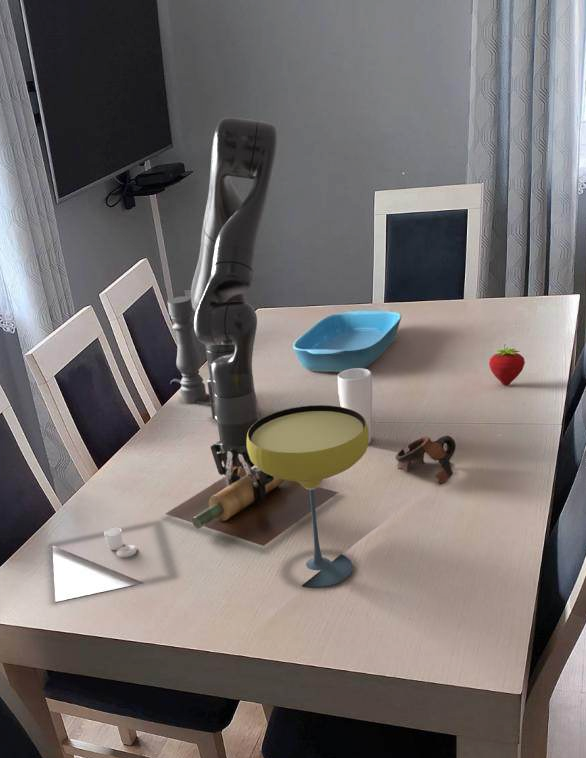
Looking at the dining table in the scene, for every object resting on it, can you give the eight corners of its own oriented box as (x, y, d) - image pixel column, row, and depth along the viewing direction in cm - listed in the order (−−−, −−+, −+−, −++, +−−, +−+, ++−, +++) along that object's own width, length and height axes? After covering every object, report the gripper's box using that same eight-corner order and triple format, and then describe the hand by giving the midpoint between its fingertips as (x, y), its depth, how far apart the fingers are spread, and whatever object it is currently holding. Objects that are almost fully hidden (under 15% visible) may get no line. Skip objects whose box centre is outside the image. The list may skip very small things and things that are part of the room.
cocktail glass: (265, 545, 151) (248, 411, 139) (371, 537, 148) (363, 399, 135) (261, 604, 135) (242, 459, 123) (380, 597, 132) (372, 447, 120)
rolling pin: (188, 531, 156) (184, 507, 154) (284, 469, 173) (282, 446, 170) (208, 538, 153) (204, 513, 151) (304, 474, 169) (302, 450, 167)
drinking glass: (374, 448, 178) (371, 378, 170) (340, 450, 179) (336, 381, 172) (375, 434, 183) (371, 366, 176) (342, 436, 185) (338, 369, 178)
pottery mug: (434, 493, 158) (410, 456, 157) (404, 498, 167) (381, 463, 166) (477, 456, 162) (454, 419, 160) (445, 462, 171) (423, 427, 169)
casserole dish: (333, 332, 248) (331, 307, 244) (411, 332, 237) (410, 306, 233) (283, 379, 221) (280, 351, 217) (368, 381, 210) (367, 353, 206)
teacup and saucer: (142, 559, 153) (138, 539, 151) (97, 568, 152) (93, 548, 150) (136, 536, 161) (132, 517, 159) (94, 545, 160) (89, 526, 158)
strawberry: (520, 391, 191) (522, 347, 186) (485, 389, 195) (486, 346, 190) (526, 381, 195) (528, 338, 190) (492, 380, 199) (493, 337, 194)
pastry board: (166, 519, 165) (165, 513, 164) (241, 472, 177) (240, 467, 177) (264, 551, 149) (263, 545, 148) (338, 497, 162) (338, 491, 161)
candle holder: (178, 403, 217) (162, 304, 205) (187, 394, 222) (172, 296, 210) (201, 403, 215) (186, 303, 202) (210, 394, 219) (195, 295, 207)
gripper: (282, 412, 152) (291, 498, 160) (221, 401, 161) (232, 482, 169) (255, 429, 147) (265, 516, 156) (193, 416, 157) (207, 499, 165)
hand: (248, 498), depth 163 cm, fingers closed on rolling pin, 5 cm apart
